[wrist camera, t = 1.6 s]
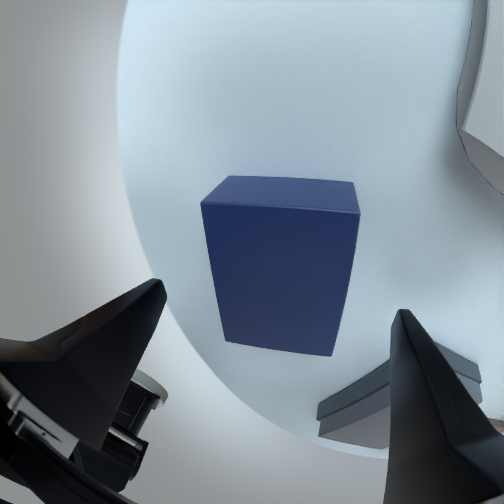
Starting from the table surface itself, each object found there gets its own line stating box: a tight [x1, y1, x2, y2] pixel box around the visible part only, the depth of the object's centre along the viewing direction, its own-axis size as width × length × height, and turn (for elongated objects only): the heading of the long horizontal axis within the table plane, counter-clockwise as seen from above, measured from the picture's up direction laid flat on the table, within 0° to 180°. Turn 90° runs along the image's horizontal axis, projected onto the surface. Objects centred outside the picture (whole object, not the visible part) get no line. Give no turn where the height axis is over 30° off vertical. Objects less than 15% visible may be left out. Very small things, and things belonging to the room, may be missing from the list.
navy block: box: [200, 176, 360, 357], centre depth 11 cm, size 7×5×3 cm
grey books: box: [316, 342, 483, 449], centre depth 15 cm, size 11×8×3 cm
